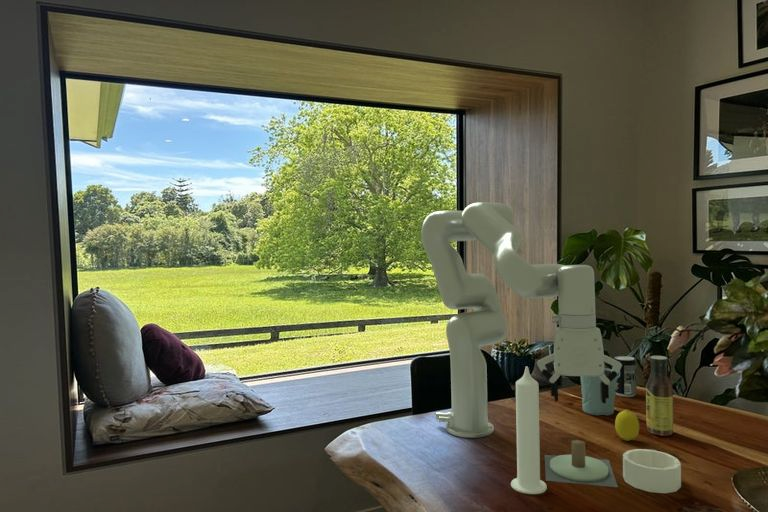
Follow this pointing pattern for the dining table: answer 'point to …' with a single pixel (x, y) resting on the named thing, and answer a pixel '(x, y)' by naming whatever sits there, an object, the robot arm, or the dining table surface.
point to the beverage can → (626, 377)
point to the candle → (528, 437)
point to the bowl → (652, 470)
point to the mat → (608, 481)
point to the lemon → (627, 425)
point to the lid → (579, 465)
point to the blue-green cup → (597, 395)
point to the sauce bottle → (659, 398)
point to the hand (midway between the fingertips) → (579, 400)
